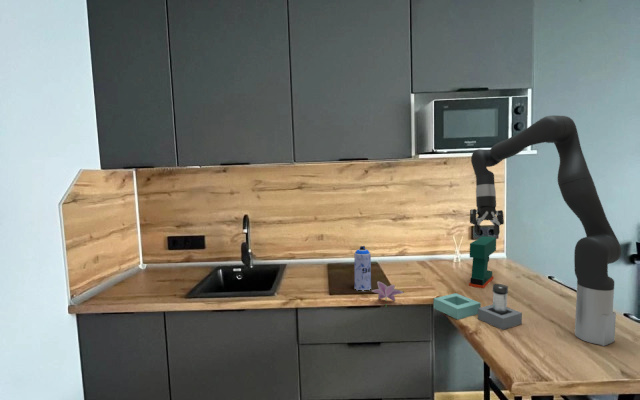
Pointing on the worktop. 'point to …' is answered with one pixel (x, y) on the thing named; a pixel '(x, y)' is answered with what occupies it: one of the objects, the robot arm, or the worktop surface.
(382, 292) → the lily
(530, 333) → the worktop surface
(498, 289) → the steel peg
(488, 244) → the power tool
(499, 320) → the socket block
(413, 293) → the worktop surface
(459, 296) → the teal square tray
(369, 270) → the aerosol can
